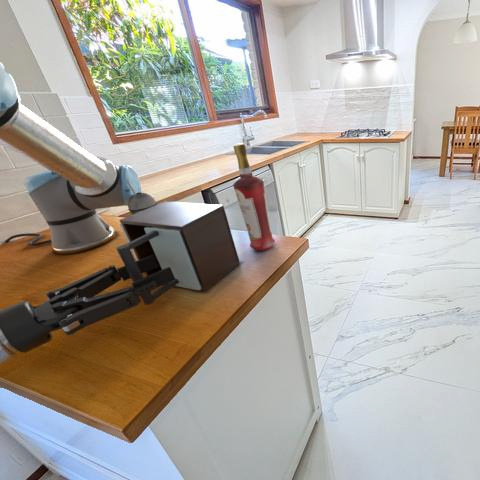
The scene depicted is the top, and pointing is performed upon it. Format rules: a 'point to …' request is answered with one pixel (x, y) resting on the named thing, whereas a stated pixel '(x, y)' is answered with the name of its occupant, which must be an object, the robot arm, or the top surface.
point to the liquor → (252, 202)
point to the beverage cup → (139, 201)
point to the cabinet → (189, 237)
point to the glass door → (162, 260)
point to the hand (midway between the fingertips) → (163, 266)
